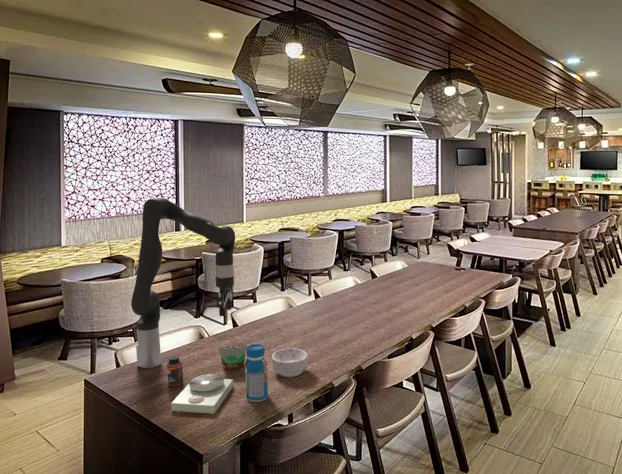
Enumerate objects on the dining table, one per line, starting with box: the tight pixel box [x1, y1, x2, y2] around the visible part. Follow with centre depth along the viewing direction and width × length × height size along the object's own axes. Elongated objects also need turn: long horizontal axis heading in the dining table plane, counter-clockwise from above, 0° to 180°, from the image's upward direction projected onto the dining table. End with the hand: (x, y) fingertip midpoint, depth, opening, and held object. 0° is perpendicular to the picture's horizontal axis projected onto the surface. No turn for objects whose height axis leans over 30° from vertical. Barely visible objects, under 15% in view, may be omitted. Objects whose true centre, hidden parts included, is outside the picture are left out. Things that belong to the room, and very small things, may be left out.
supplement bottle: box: [166, 355, 184, 388], centre depth 190 cm, size 6×6×11 cm
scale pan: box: [188, 373, 225, 392], centre depth 181 cm, size 13×13×2 cm
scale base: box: [170, 378, 234, 415], centre depth 178 cm, size 16×21×4 cm
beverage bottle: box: [244, 343, 269, 403], centre depth 176 cm, size 8×8×20 cm
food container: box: [218, 342, 248, 372], centre depth 203 cm, size 12×6×10 cm, turn 105°
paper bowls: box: [271, 347, 309, 378], centre depth 198 cm, size 15×15×8 cm
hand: (225, 312), depth 196 cm, fingers open, 8 cm apart
